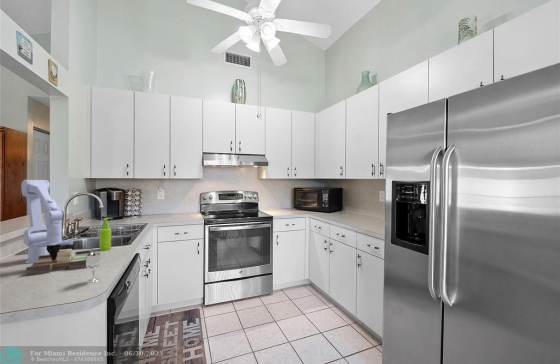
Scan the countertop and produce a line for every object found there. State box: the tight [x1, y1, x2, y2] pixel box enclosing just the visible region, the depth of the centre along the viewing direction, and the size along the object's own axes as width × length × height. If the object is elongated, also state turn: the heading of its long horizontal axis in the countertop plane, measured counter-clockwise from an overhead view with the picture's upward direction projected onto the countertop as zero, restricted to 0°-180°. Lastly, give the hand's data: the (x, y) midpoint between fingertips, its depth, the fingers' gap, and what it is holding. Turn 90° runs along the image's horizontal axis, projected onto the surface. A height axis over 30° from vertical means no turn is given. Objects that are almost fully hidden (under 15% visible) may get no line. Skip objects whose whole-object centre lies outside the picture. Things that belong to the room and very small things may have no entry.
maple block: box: [57, 248, 73, 262], centre depth 127 cm, size 5×5×5 cm
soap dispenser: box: [99, 217, 113, 252], centre depth 155 cm, size 6×7×20 cm
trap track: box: [25, 248, 95, 277], centre depth 127 cm, size 19×23×4 cm
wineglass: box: [86, 252, 103, 284], centre depth 110 cm, size 6×6×12 cm
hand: (54, 259), depth 125 cm, fingers closed
